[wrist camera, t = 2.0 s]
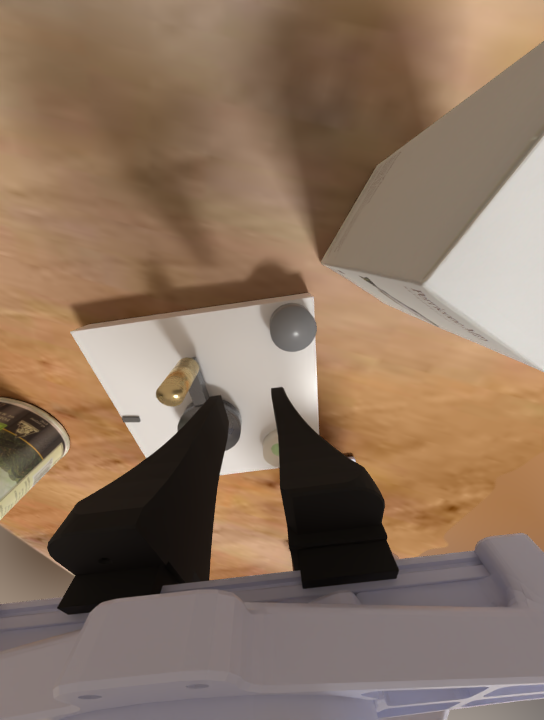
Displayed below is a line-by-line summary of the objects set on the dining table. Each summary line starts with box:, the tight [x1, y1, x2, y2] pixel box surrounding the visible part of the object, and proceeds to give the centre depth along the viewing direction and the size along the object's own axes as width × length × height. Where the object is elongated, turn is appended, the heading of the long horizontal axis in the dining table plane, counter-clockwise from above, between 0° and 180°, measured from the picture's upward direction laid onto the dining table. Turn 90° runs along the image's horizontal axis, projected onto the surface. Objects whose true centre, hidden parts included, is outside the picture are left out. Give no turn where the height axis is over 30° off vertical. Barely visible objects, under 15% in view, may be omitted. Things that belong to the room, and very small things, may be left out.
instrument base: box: [71, 293, 319, 475], centre depth 22 cm, size 20×20×4 cm
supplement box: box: [321, 41, 544, 372], centre depth 11 cm, size 7×7×13 cm
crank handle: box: [156, 357, 242, 451], centre depth 18 cm, size 11×6×5 cm, turn 8°
